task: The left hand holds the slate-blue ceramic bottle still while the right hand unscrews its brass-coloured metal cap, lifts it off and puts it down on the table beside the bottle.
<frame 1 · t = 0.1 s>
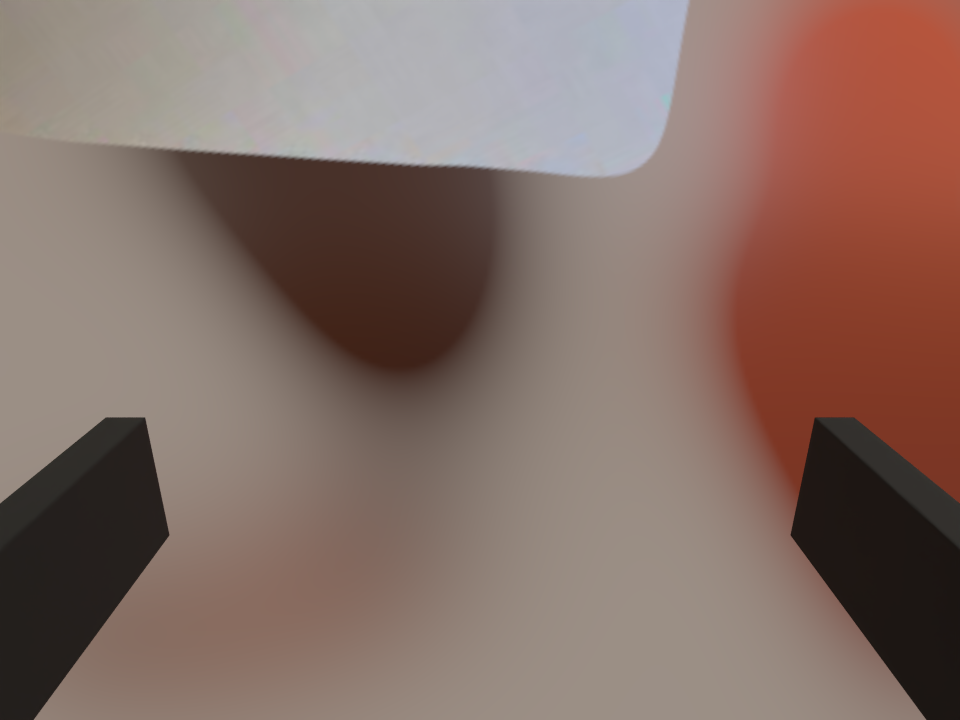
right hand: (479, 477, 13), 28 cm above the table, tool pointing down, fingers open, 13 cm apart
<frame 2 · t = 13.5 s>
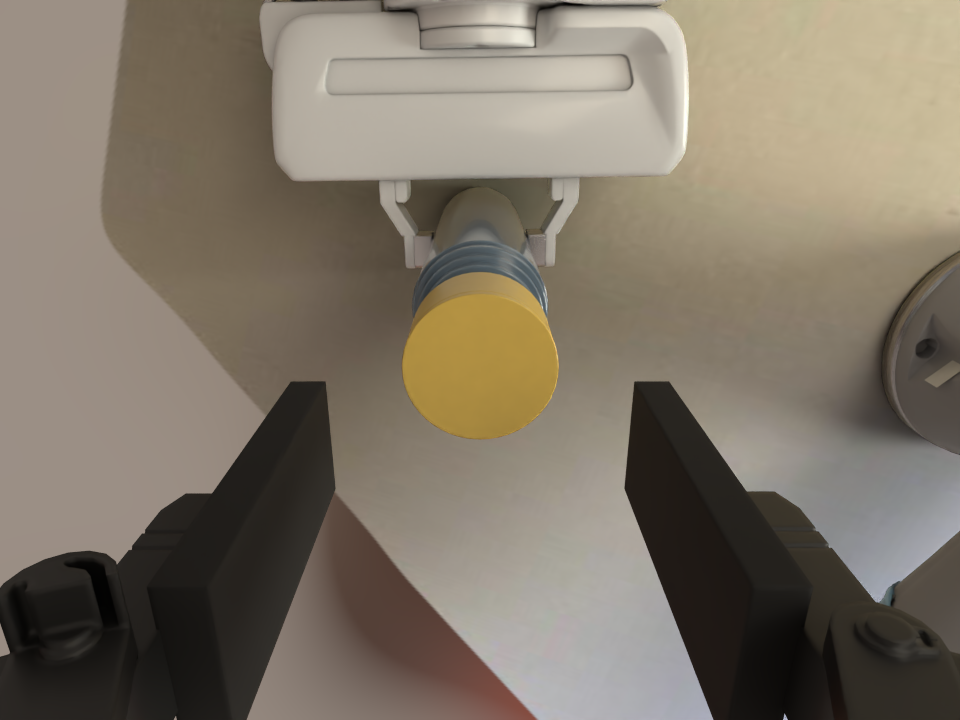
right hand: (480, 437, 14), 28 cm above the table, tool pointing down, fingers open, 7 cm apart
left hand: (481, 265, 35), fingers closed on bottle, 5 cm apart
cap: (480, 366, 19), point 24 cm above the table, screwed on, not yet turned
bottle: (479, 228, 41), on the table, touching left hand
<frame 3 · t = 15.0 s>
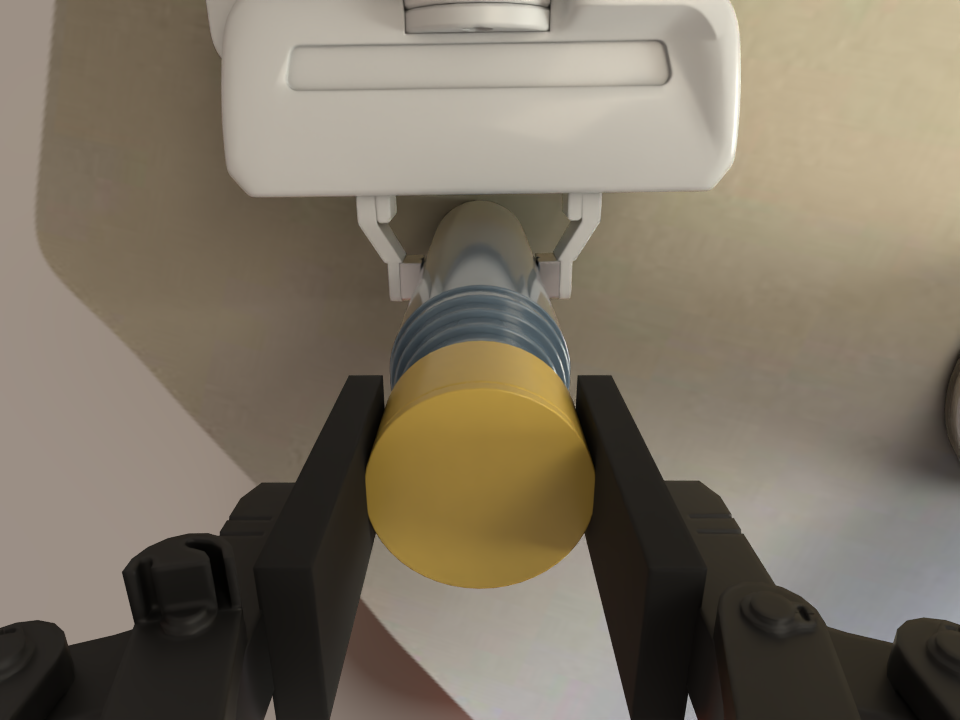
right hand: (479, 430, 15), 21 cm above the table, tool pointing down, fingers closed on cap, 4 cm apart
left hand: (481, 297, 29), fingers closed on bottle, 5 cm apart
cap: (480, 486, 13), point 24 cm above the table, screwed on, not yet turned, touching right hand
bottle: (480, 248, 35), on the table, touching left hand
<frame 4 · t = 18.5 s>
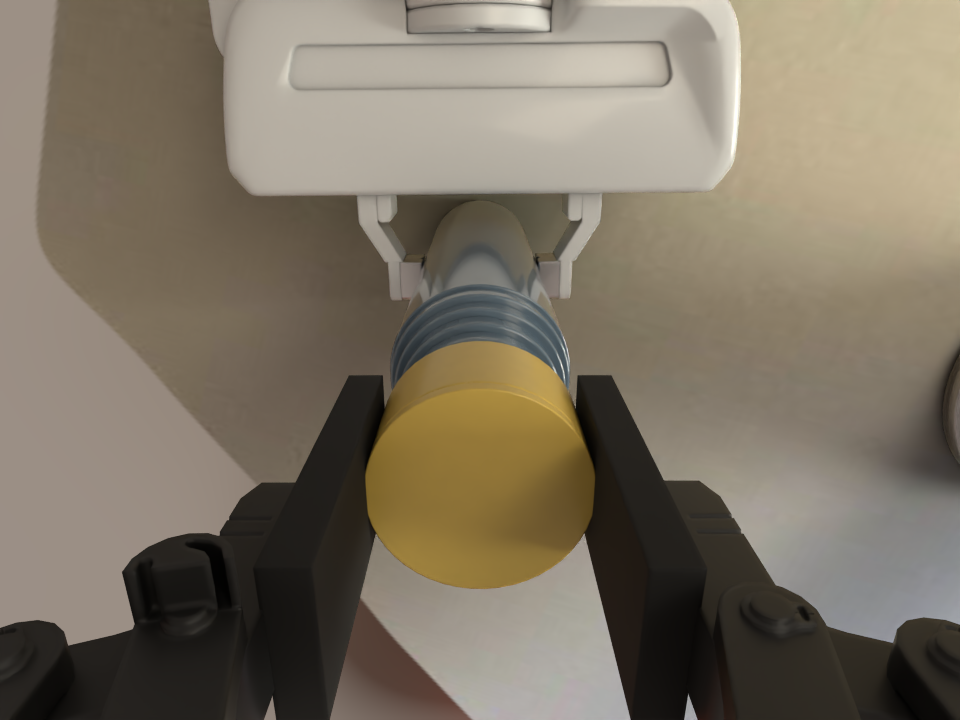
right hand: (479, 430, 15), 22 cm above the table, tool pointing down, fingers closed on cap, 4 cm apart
left hand: (481, 296, 29), fingers closed on bottle, 5 cm apart
cap: (480, 487, 13), point 24 cm above the table, turned 108° so far, risen 0.1 cm, still on its thread, touching right hand
bottle: (480, 247, 35), on the table, touching left hand
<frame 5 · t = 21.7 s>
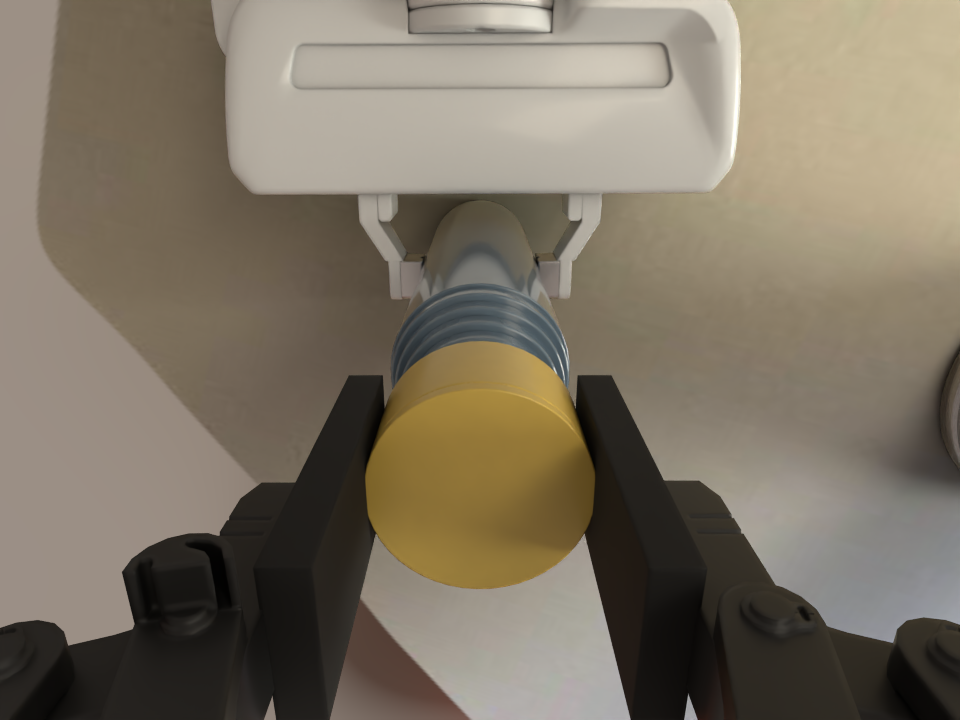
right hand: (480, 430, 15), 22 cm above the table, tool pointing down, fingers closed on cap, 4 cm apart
left hand: (481, 296, 29), fingers closed on bottle, 5 cm apart
cap: (480, 487, 13), point 24 cm above the table, turned 217° so far, risen 0.2 cm, still on its thread, touching right hand
bottle: (480, 247, 35), on the table, touching left hand
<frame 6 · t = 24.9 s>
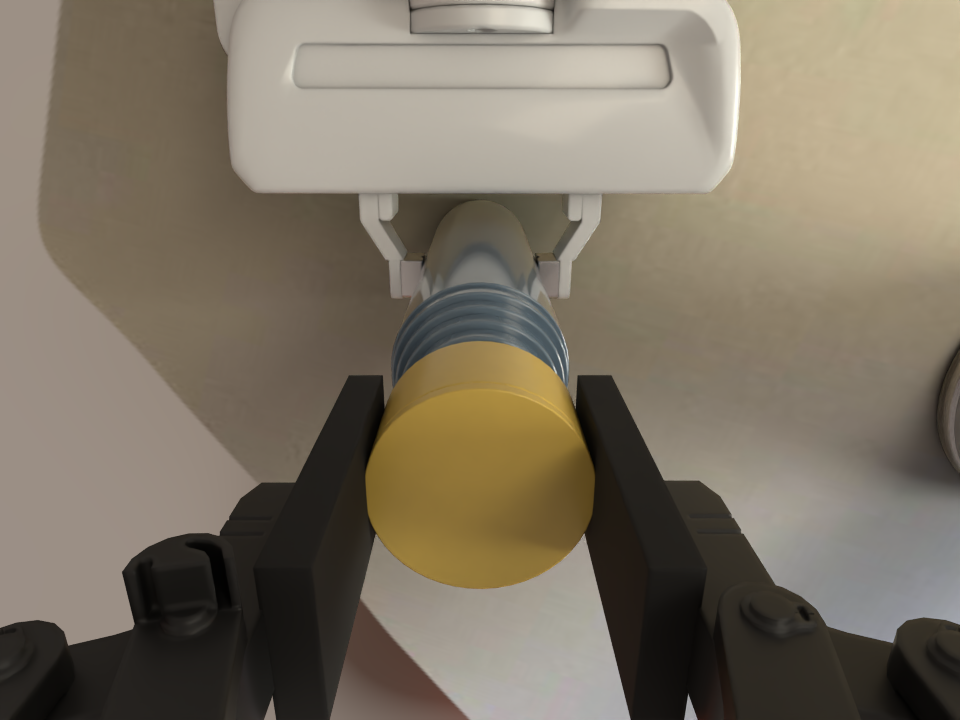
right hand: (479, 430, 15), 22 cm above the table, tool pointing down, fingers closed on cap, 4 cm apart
left hand: (481, 295, 29), fingers closed on bottle, 5 cm apart
cap: (480, 487, 13), point 24 cm above the table, turned 325° so far, risen 0.3 cm, still on its thread, touching right hand
bottle: (480, 247, 35), on the table, touching left hand
when the right hand's fingers open (1 cm above the table, at t = 31.1 s): cap drops 1 cm, point 2 cm above the table.
when the left hand's fingers open (7 cm above the table, at t = 32.4 s): bottle stays where it is, on the table.
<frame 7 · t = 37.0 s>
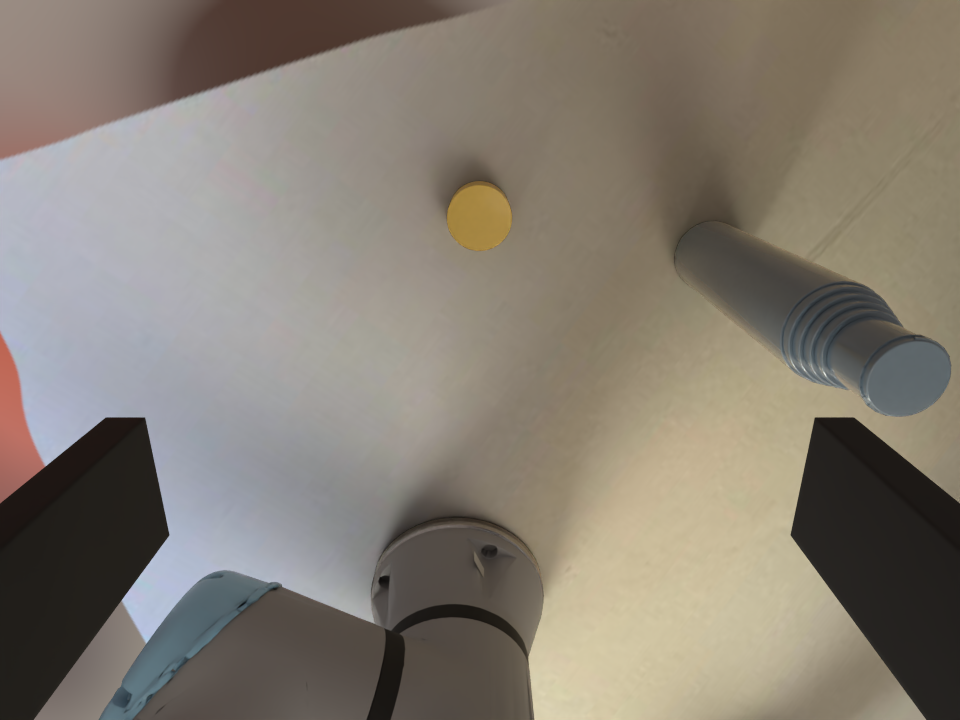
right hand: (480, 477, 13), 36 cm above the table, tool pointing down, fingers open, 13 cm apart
cap: (479, 217, 44), point 2 cm above the table, off its thread
bottle: (708, 255, 48), on the table
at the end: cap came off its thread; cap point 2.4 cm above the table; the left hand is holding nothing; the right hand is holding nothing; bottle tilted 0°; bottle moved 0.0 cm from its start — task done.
